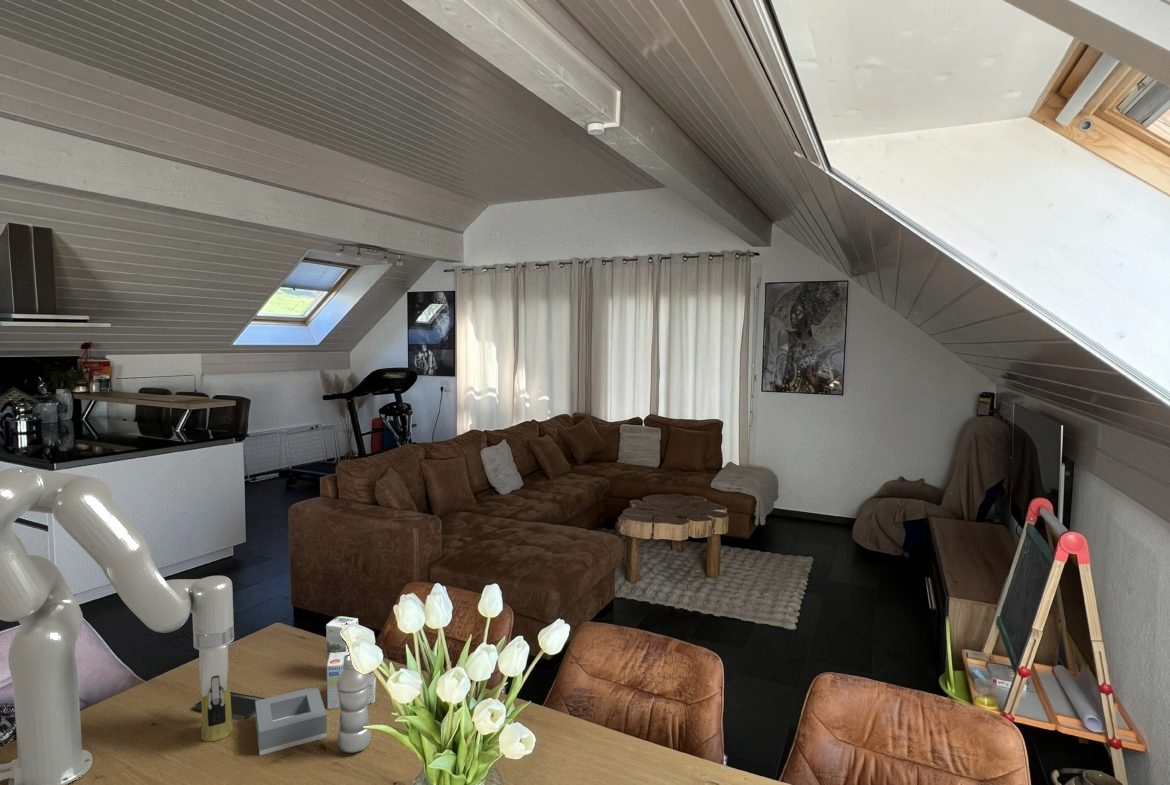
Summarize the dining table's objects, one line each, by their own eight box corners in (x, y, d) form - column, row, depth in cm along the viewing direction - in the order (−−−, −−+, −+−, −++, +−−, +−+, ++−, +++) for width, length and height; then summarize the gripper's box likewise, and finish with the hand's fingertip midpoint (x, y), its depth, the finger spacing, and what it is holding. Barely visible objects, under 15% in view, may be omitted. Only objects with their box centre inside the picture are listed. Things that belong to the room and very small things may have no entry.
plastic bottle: (368, 756, 134) (367, 663, 132) (334, 758, 133) (332, 665, 131) (373, 736, 140) (372, 648, 138) (340, 739, 139) (339, 649, 137)
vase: (195, 735, 140) (193, 671, 138) (224, 721, 145) (222, 660, 143) (209, 745, 136) (207, 680, 135) (238, 731, 141) (236, 668, 140)
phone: (217, 689, 156) (271, 699, 152) (218, 694, 156) (271, 703, 152) (190, 707, 148) (246, 717, 145) (190, 712, 148) (246, 722, 145)
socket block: (259, 755, 133) (259, 732, 133) (255, 722, 144) (255, 700, 144) (326, 736, 140) (326, 714, 139) (318, 706, 151) (317, 686, 151)
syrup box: (359, 671, 167) (359, 617, 166) (346, 683, 161) (345, 627, 160) (340, 668, 168) (339, 614, 167) (326, 680, 162) (325, 624, 161)
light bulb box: (376, 689, 159) (375, 646, 158) (375, 704, 153) (374, 660, 152) (329, 694, 156) (329, 651, 155) (326, 710, 150) (325, 665, 149)
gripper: (194, 623, 144) (197, 698, 146) (192, 657, 129) (195, 740, 131) (232, 616, 148) (235, 689, 149) (235, 648, 133) (238, 729, 134)
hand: (216, 713), depth 140 cm, fingers open, 8 cm apart
